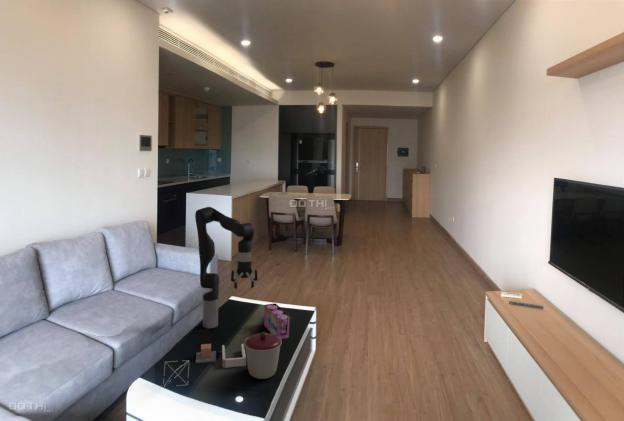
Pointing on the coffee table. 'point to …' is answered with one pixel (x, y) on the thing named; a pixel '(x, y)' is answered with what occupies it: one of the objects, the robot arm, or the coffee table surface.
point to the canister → (262, 354)
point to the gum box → (276, 320)
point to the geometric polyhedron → (175, 372)
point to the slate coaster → (205, 360)
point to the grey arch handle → (234, 359)
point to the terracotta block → (205, 350)
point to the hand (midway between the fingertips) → (244, 288)
